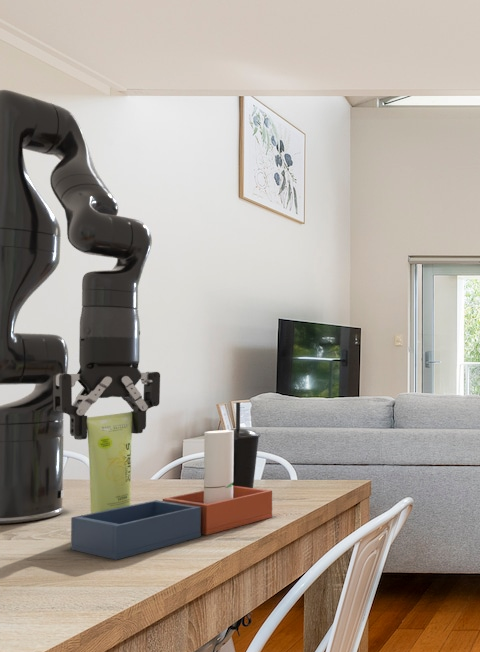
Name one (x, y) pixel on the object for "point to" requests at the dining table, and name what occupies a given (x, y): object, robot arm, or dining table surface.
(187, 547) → the dining table surface
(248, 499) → the terracotta bin
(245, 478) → the drinking cup
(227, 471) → the tube
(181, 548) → the dining table surface
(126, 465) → the tube
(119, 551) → the blue bin
